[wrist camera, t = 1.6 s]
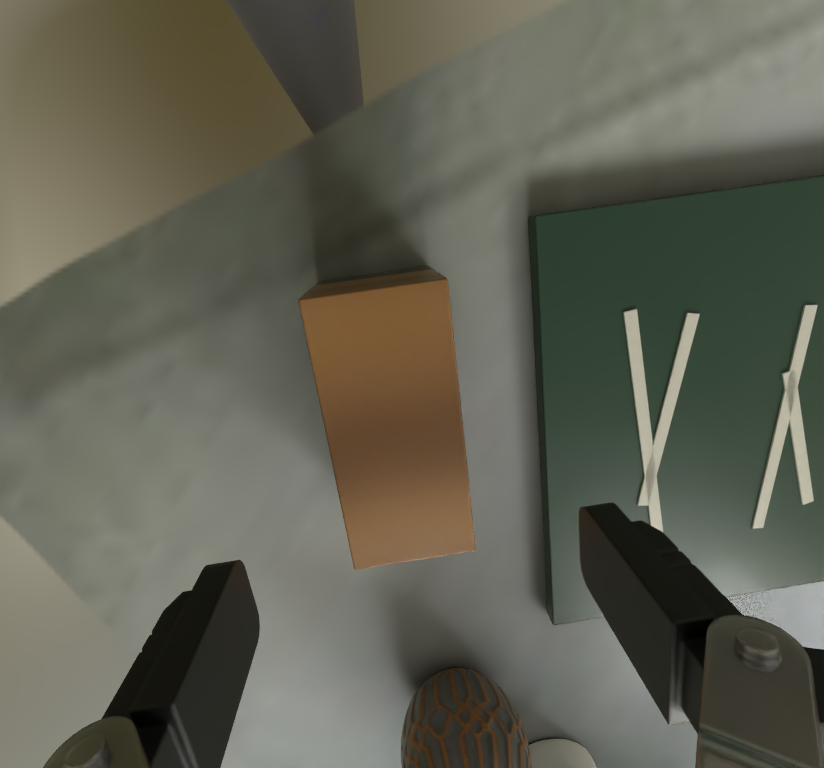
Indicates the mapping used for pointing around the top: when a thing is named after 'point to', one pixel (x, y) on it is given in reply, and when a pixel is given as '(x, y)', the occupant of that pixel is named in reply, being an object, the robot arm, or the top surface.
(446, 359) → the eraser
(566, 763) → the mug
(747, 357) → the slate board
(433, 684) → the vase
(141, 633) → the top surface
